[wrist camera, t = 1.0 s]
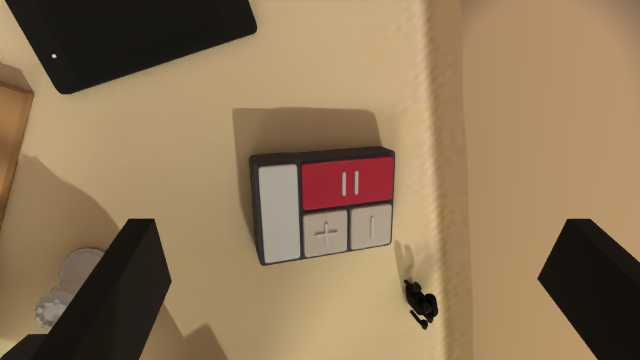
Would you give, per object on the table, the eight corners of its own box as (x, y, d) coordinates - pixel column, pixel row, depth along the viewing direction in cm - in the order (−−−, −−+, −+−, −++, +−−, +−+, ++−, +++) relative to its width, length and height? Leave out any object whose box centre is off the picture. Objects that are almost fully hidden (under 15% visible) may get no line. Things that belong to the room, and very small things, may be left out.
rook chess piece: (92, 294, 36) (56, 350, 28) (54, 266, 34) (5, 318, 27) (125, 265, 36) (98, 314, 28) (89, 237, 34) (50, 280, 27)
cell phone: (258, 32, 33) (259, 31, 32) (64, 96, 30) (59, 96, 30) (220, -74, 30) (220, -79, 29) (2, -13, 27) (-5, -16, 27)
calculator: (395, 247, 39) (261, 270, 35) (378, 232, 43) (255, 251, 39) (399, 151, 36) (253, 164, 32) (380, 144, 40) (248, 155, 36)
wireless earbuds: (399, 271, 45) (420, 294, 40) (417, 265, 45) (439, 286, 40) (408, 314, 47) (428, 340, 42) (424, 308, 47) (446, 333, 43)
